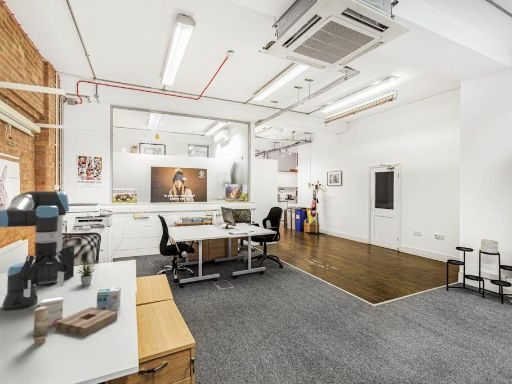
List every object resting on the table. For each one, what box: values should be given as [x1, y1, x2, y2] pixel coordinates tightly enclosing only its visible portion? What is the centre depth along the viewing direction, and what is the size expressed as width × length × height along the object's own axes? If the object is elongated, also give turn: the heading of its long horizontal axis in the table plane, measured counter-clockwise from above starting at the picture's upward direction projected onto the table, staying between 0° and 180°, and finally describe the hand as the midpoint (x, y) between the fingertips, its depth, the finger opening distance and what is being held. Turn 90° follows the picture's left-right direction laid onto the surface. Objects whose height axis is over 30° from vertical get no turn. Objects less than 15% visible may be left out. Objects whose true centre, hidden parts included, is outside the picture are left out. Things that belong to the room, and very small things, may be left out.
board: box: [55, 306, 118, 337], centre depth 131 cm, size 18×18×4 cm
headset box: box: [34, 244, 75, 287], centre depth 195 cm, size 22×12×26 cm, turn 179°
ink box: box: [40, 296, 64, 327], centre depth 130 cm, size 9×5×12 cm, turn 125°
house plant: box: [76, 261, 98, 286], centre depth 189 cm, size 14×14×16 cm
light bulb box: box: [96, 286, 122, 312], centre depth 149 cm, size 11×7×11 cm, turn 105°
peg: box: [33, 306, 48, 345], centre depth 114 cm, size 4×4×14 cm
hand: (44, 291), depth 115 cm, fingers open, 13 cm apart
